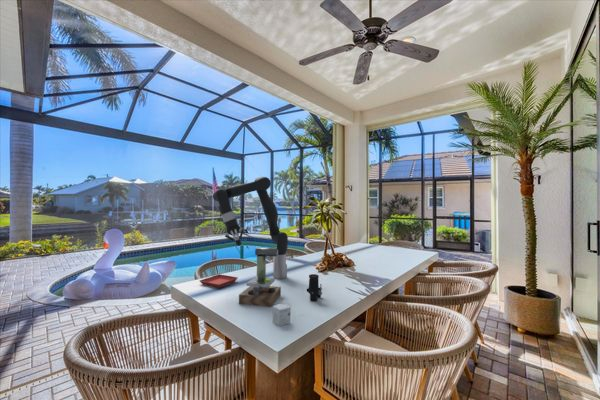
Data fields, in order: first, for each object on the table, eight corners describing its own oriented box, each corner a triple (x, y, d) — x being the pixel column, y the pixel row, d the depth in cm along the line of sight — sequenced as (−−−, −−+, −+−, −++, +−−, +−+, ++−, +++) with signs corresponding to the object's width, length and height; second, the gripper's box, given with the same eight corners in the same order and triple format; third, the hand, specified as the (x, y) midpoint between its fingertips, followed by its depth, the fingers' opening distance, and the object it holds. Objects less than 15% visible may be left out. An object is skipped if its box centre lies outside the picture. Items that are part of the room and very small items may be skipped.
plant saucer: (198, 285, 173) (198, 280, 173) (219, 278, 189) (219, 273, 189) (218, 289, 164) (219, 284, 164) (238, 282, 180) (238, 277, 180)
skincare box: (279, 326, 115) (279, 309, 115) (272, 321, 120) (272, 305, 120) (290, 323, 119) (291, 306, 119) (283, 318, 124) (283, 302, 124)
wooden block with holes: (238, 304, 140) (239, 287, 140) (251, 292, 158) (252, 277, 158) (270, 307, 137) (271, 289, 137) (280, 295, 154) (280, 280, 154)
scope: (322, 273, 153) (320, 277, 143) (322, 297, 152) (320, 303, 143) (308, 272, 154) (305, 276, 144) (308, 295, 154) (305, 302, 144)
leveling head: (246, 289, 142) (246, 249, 142) (255, 282, 155) (256, 245, 155) (272, 291, 139) (273, 250, 139) (279, 284, 152) (280, 246, 152)
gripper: (218, 224, 160) (228, 250, 160) (239, 216, 162) (249, 242, 162) (220, 223, 167) (230, 248, 168) (240, 215, 169) (250, 240, 169)
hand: (239, 245), depth 165 cm, fingers closed
